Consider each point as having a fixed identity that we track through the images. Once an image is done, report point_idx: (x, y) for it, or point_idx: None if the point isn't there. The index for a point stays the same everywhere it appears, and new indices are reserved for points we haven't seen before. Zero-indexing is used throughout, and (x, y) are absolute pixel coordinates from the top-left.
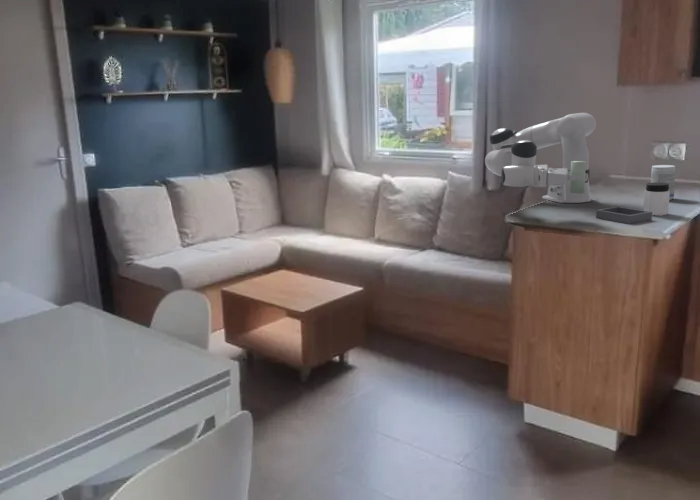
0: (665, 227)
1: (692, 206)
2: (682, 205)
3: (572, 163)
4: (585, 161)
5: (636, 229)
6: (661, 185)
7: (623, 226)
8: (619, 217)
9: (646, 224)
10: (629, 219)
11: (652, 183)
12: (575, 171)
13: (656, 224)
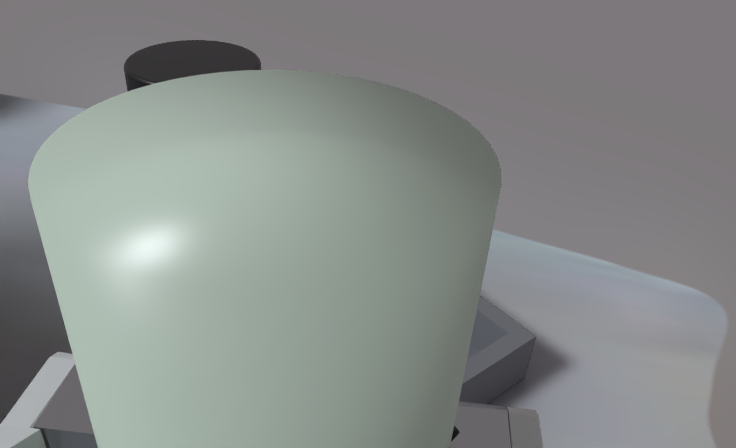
0: (581, 261)
1: (75, 111)
2: (33, 124)
3: (398, 313)
4: (274, 70)
5: (692, 376)
6: (260, 62)
7: (618, 422)
8: (471, 394)
9: (518, 308)
10: (530, 355)
11: (165, 68)
12: (451, 428)
13: (508, 274)
